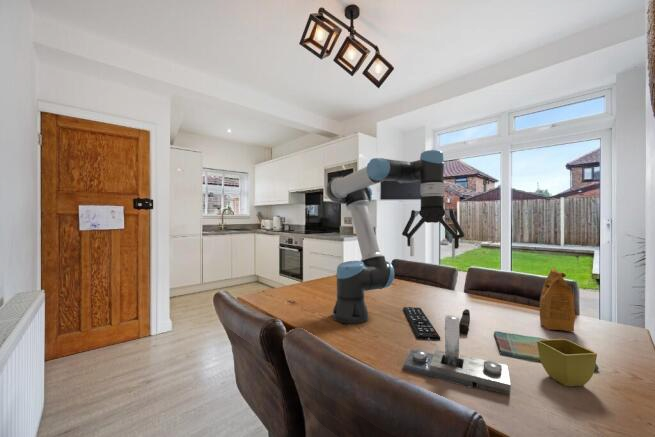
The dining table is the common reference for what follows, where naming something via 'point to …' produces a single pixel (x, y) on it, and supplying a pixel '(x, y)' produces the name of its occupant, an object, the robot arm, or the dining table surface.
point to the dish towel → (519, 346)
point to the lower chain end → (421, 364)
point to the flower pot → (567, 361)
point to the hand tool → (464, 322)
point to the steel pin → (452, 341)
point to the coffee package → (557, 303)
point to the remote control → (420, 324)
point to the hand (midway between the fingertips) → (432, 257)
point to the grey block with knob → (475, 372)
